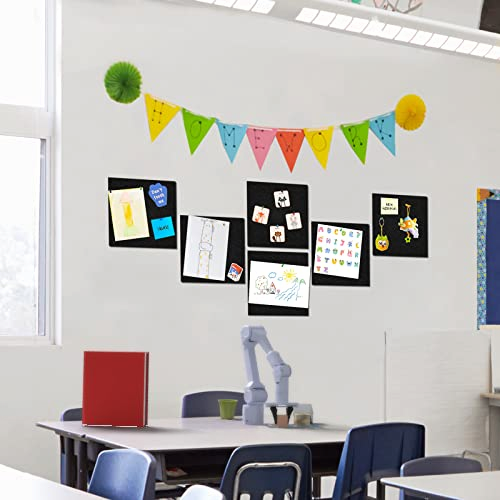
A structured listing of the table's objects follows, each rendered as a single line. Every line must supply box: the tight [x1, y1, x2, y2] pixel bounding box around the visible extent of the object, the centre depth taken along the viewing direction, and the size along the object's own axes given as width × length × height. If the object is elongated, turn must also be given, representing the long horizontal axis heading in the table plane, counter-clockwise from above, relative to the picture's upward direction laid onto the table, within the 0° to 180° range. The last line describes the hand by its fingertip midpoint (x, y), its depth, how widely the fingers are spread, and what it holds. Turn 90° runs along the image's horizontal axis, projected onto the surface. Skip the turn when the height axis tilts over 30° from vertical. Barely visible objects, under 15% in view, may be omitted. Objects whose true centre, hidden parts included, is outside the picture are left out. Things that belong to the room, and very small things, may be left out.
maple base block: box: [293, 414, 311, 426], centre depth 444 cm, size 6×6×5 cm
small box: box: [292, 403, 314, 424], centre depth 454 cm, size 8×6×10 cm
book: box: [81, 350, 150, 428], centre depth 436 cm, size 27×8×32 cm, turn 83°
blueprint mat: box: [264, 423, 325, 429], centre depth 442 cm, size 24×16×1 cm, turn 99°
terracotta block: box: [274, 414, 288, 427], centre depth 438 cm, size 4×4×5 cm
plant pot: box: [217, 399, 239, 420], centre depth 476 cm, size 9×9×9 cm
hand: (281, 424), depth 438 cm, fingers closed on terracotta block, 4 cm apart
